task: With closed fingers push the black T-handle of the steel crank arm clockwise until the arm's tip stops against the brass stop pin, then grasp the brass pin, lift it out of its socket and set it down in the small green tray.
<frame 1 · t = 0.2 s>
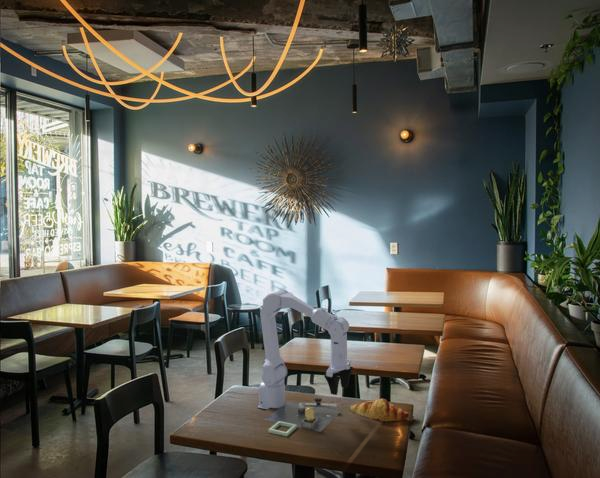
hand: (339, 390, 175), 10 cm above the table, tool pointing down, fingers open, 7 cm apart
crank: (317, 404, 179), point 3 cm above the table, hinge at 20.0°
croissant: (379, 417, 176), on the table
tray: (282, 432, 165), on the table
stop pin: (309, 425, 168), point 1 cm above the table, touching crank plate
crank plate: (303, 417, 176), on the table
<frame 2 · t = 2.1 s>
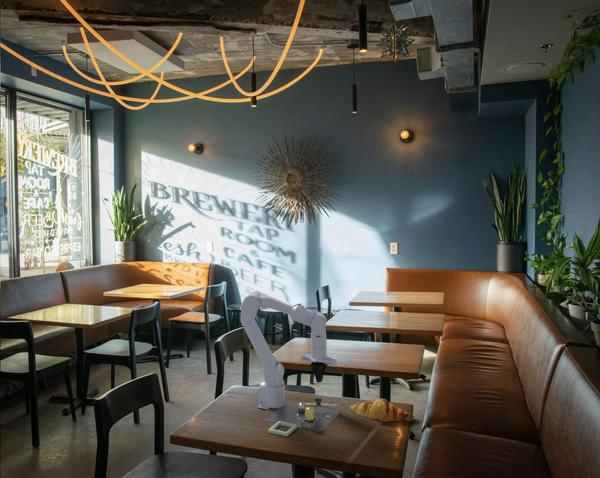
hand: (319, 381, 184), 10 cm above the table, tool pointing down, fingers closed
nothing on the table moved.
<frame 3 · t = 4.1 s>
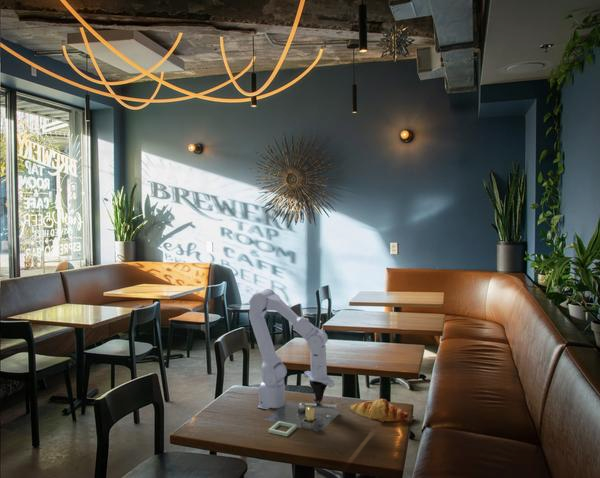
hand: (319, 400, 180), 4 cm above the table, tool pointing down, fingers closed, pressing on crank
crank: (316, 405, 178), point 3 cm above the table, hinge at 15.2°, touching gripper
everything else where it was.
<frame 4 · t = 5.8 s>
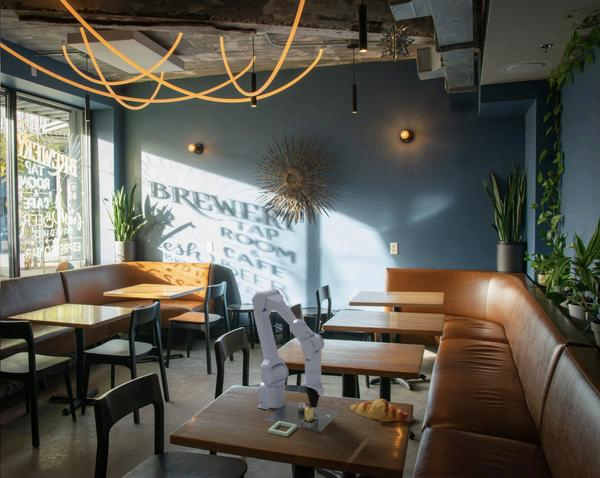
hand: (313, 407, 175), 4 cm above the table, tool pointing down, fingers closed, pressing on crank
crank: (308, 410, 174), point 3 cm above the table, hinge at -39.6°, touching gripper, stop pin
stop pin: (309, 425, 168), point 1 cm above the table, touching crank, crank plate
everything else where it was.
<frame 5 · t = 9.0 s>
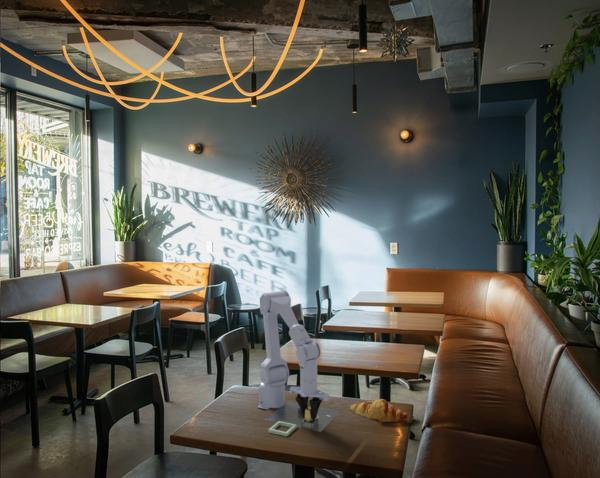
hand: (309, 417, 168), 4 cm above the table, tool pointing down, fingers open, 3 cm apart
crank: (308, 410, 174), point 3 cm above the table, hinge at -39.4°
stop pin: (309, 425, 168), point 1 cm above the table, touching crank plate, gripper
everything else where it was.
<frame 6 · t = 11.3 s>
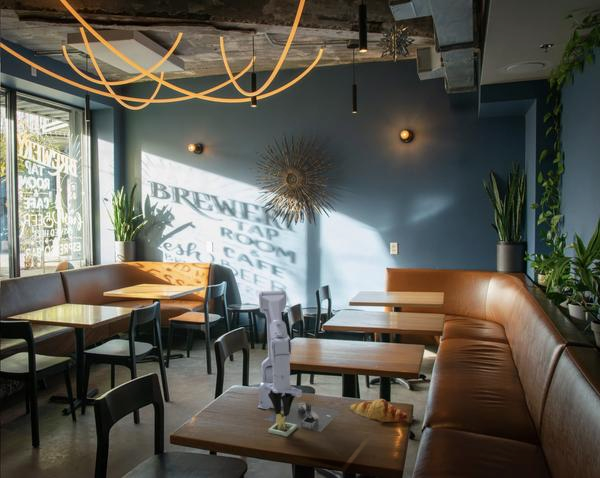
hand: (282, 414, 164), 7 cm above the table, tool pointing down, fingers open, 3 cm apart
stop pin: (280, 430, 166), point 1 cm above the table, touching gripper, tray
everything else where it was.
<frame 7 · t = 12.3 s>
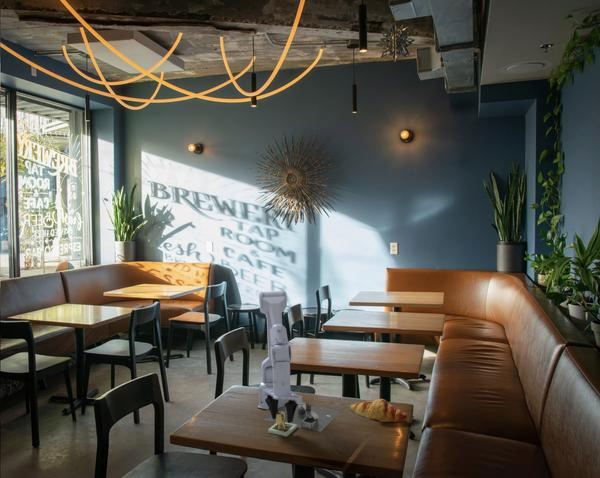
hand: (282, 420, 165), 4 cm above the table, tool pointing down, fingers open, 6 cm apart
stop pin: (280, 430, 166), point 1 cm above the table, touching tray
everything else where it was.
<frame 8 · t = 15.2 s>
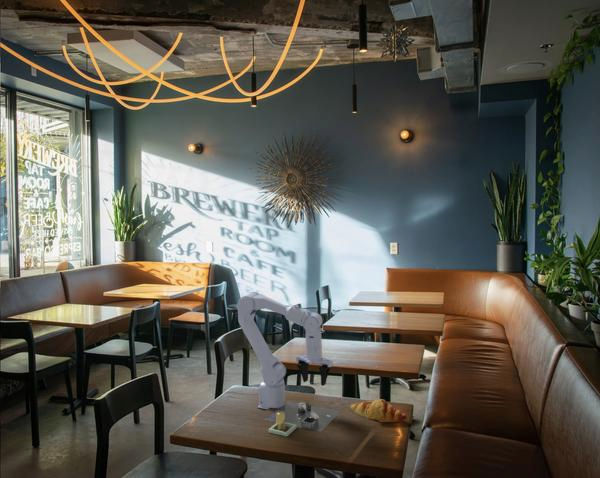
hand: (314, 382, 182), 10 cm above the table, tool pointing down, fingers open, 7 cm apart
nothing on the table moved.
at the end: stop pin 0.9 cm off-centre on the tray, point 0.6 cm above the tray's base; crank at -39° (first picture: +20°); the gripper is holding nothing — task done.
